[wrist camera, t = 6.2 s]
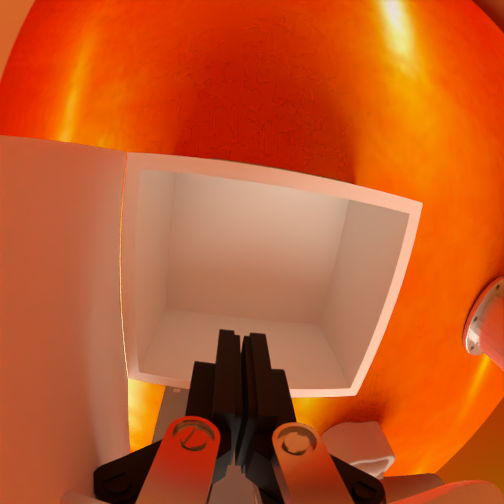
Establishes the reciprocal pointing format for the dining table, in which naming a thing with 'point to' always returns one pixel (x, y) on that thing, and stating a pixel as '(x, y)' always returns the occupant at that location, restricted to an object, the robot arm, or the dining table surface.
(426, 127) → the dining table surface
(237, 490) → the hard drive box
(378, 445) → the lumpy-topped squat cylinder
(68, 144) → the lid flap
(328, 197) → the carton
